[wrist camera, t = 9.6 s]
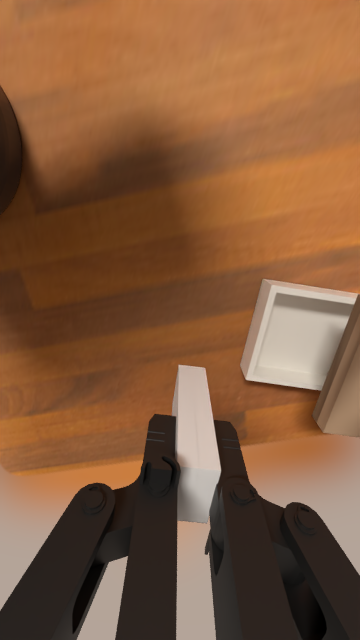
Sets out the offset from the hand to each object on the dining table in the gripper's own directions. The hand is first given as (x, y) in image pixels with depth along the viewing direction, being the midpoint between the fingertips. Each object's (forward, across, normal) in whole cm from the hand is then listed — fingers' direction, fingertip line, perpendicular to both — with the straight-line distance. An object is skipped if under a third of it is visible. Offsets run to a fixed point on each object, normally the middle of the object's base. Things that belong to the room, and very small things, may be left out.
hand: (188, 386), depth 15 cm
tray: (+14, +13, -1) cm, 19 cm away
